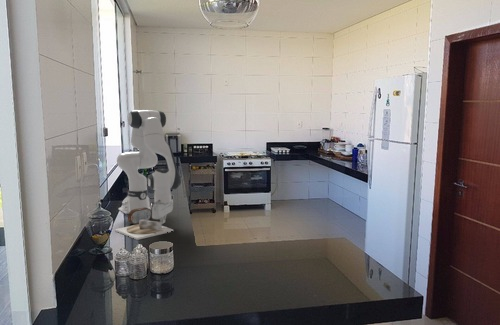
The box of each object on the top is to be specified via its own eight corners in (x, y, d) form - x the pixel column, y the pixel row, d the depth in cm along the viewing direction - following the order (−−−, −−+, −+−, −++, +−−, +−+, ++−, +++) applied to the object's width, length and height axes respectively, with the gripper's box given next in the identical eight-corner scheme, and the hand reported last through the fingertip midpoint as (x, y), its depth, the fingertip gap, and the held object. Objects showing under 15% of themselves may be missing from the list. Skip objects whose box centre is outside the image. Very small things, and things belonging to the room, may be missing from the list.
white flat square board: (114, 231, 209) (114, 228, 209) (150, 223, 225) (150, 221, 225) (137, 240, 194) (136, 237, 194) (173, 231, 210) (173, 229, 210)
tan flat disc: (119, 231, 203) (119, 223, 203) (139, 223, 220) (139, 215, 220) (151, 235, 198) (151, 226, 197) (169, 226, 215) (169, 218, 214)
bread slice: (149, 219, 233) (149, 206, 232) (152, 220, 231) (152, 206, 230) (127, 224, 222) (127, 210, 221) (130, 225, 220) (130, 211, 219)
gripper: (160, 202, 201) (160, 228, 202) (175, 195, 221) (175, 219, 222) (148, 202, 202) (149, 228, 204) (164, 194, 222) (164, 218, 224)
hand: (162, 223), depth 213 cm, fingers closed
